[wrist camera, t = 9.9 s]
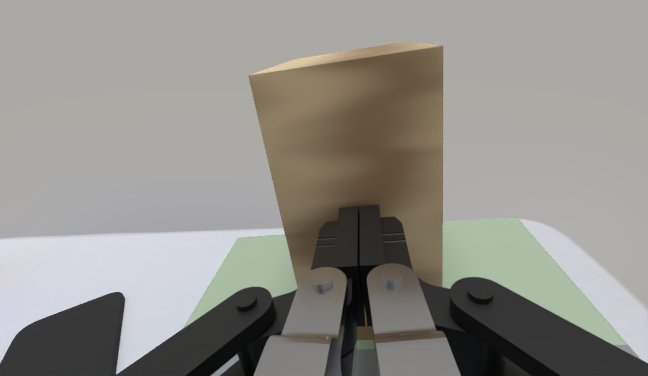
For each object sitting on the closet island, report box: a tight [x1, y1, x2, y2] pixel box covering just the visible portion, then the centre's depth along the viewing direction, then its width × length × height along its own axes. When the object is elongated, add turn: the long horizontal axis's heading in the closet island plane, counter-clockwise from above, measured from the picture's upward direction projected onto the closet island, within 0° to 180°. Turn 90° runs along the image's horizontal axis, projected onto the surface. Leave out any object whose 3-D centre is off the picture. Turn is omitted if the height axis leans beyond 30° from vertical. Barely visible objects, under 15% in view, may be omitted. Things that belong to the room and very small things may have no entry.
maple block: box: [249, 42, 443, 340], centre depth 16 cm, size 6×8×12 cm
